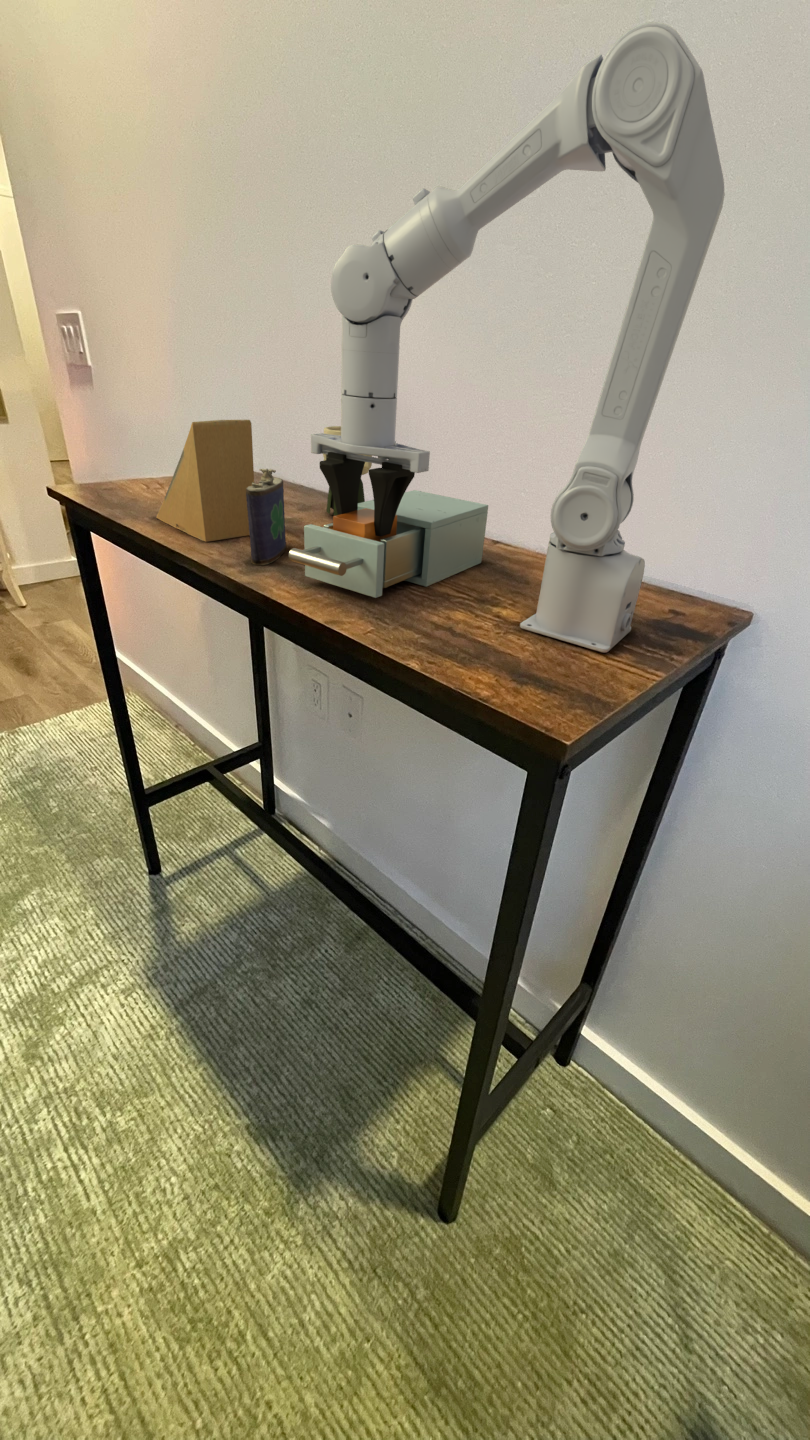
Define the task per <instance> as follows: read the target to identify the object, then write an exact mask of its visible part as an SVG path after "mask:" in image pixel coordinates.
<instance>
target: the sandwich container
mask: <svg viewBox="0 0 810 1440" xmlns="http://www.w3.org/2000/svg"><path fill="white" fill-rule="evenodd" d="M253 450H254V449H253V427H252V422H251V419H213V420H199V421H192V422H191V424H190V428H189V431H188V435H187V437H186V440H185V444H184V446H183V449H182V452H181V454H180V457H179V460H178V462H177V465H176V467H175V470H174V473H173V475H172V478H171V481H170V483H169V486H168V489H167V490H166V493H165V496H164V498H163V499H162V500H163V501H162V503H161V505H160V508H159V510H158V512H157V515H156V519H158V520H159V521H161V522H163V523H164V524H167V525H169V526H171V527H173V528H175V529H177V530H179V531H182V532H183V533H185V534H187V535H189V536H191V537H194V538H195V539H198V540H200V541H203V542H205V543H207V542H215V541H220V540H226V539H227V540H228V539H235V538H240V537H246V536H250V535H249V521H248V511H247V501H246V488H248V486H252V482H253V483H255V471H254V469H255V468H254V451H253Z"/></svg>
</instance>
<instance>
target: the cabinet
mask: <svg viewBox="0 0 810 1440" xmlns="http://www.w3.org/2000/svg"><path fill="white" fill-rule="evenodd" d="M365 508H368V509H372V510H374V499H370V500H365V502H361V503H358V510H361V509H365ZM488 514H489V504H486V503H480V502H475V501H471V500H465V499H461V498H455V497H450V496H445V495H440V494H436V493H431V492H426V491H421V490H416V489H413V490H410V491H405V493H404V495H403V497H402V499H401V502H400V504H399V507H398V509H397V512H396V515H397V522H402V523H406V524H410V525H414V526H419V527H423V528H426V529H425V541H424V554H423V567H422V573H421V574H418V575H416V576H413V577H411V578H408V579H406V580H404V581H405V582H409V583H412V584H415V585H418V586H422V587H425V588H427V587H429V586H432V585H434V584H436V583H438V582H441V581H443V580H445V579H448V578H450V577H452V576H455V575H456V574H459V573H461V572H464V571H466V570H468V569H470V568H473V567H475V566H478V565H480V564H481V563H482V560H483V553H484V546H485V537H486V529H487V521H488Z"/></svg>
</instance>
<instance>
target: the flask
mask: <svg viewBox="0 0 810 1440" xmlns="http://www.w3.org/2000/svg"><path fill="white" fill-rule="evenodd" d="M259 471H260V472H261V473H262V475H261V477H260V480H259V481H258V483H256V482H254V483H253V482H252V486H248V488H246V501H247V511H248V521H249V535H248V536H249V540H250V541H249V545H250V557H251V560H250V561H251V563H252V565H256V566H265V565H269V564H271V563H273V562H275V561H277V560H278V559H279V558H281V556H282V555H283V554H284V553H285V551H286V550H287V539H286V521H285V520H286V519H285V515H286V513H285V498H284V497H285V496H284V493H285V489H284V480H283V479H282V478H280V477H274V476H273V473H274V474H275V473H276V472H277V471H276V469H272V468H269V469H268V468H259Z"/></svg>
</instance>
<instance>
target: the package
mask: <svg viewBox="0 0 810 1440" xmlns="http://www.w3.org/2000/svg"><path fill="white" fill-rule="evenodd" d="M332 523H333V530H336V531H339V532H343V533H347V534H351V535H355V536H359V537H363V538H367V539H371V540H374V541H378V542H381V540H382V539H385V538H388V537H391V536H395V535H396V531H397V515H395V518H394V522H393V525H392V529H391V533H390V534H388V535H384V536H381V537H379V536H376V535H375V527H374V510H372V509H368V508H365V509H361V510H357V511H353V512H349V513H345V514H340V515H336V516H335V515H333V516H332Z"/></svg>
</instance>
